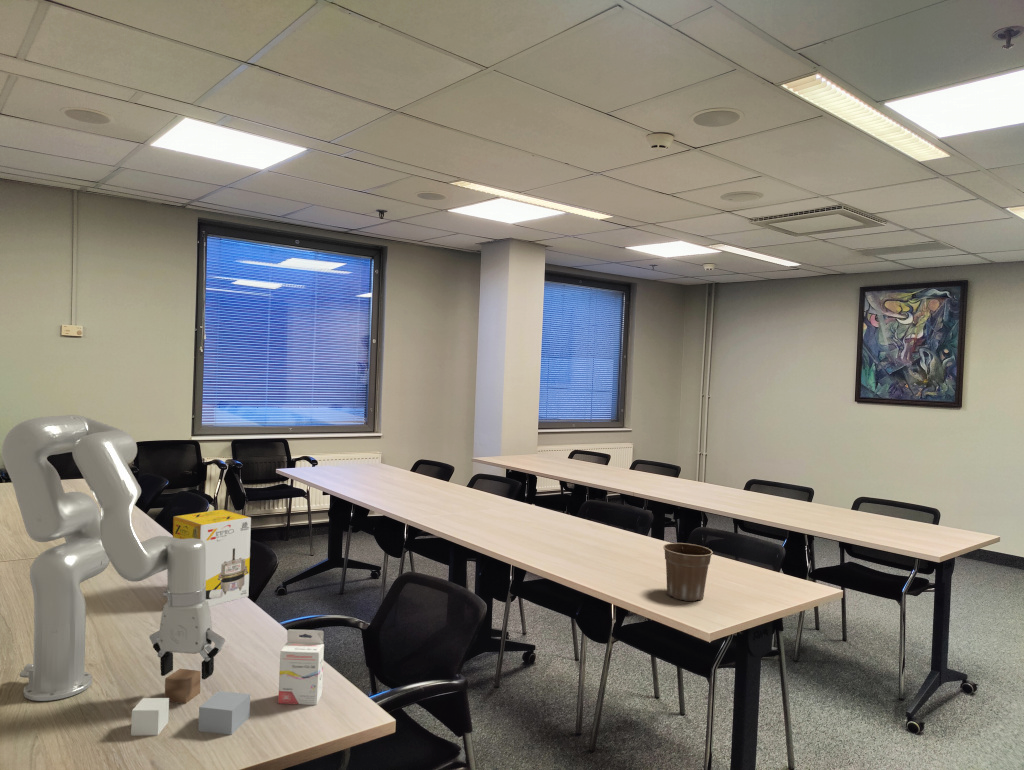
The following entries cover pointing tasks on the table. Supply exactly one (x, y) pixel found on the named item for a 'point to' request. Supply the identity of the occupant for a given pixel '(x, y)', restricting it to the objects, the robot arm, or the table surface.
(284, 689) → the ink cartridge box
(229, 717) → the slate base block
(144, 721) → the pale grey cube
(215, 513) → the packaging box
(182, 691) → the walnut cube
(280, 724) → the table surface
